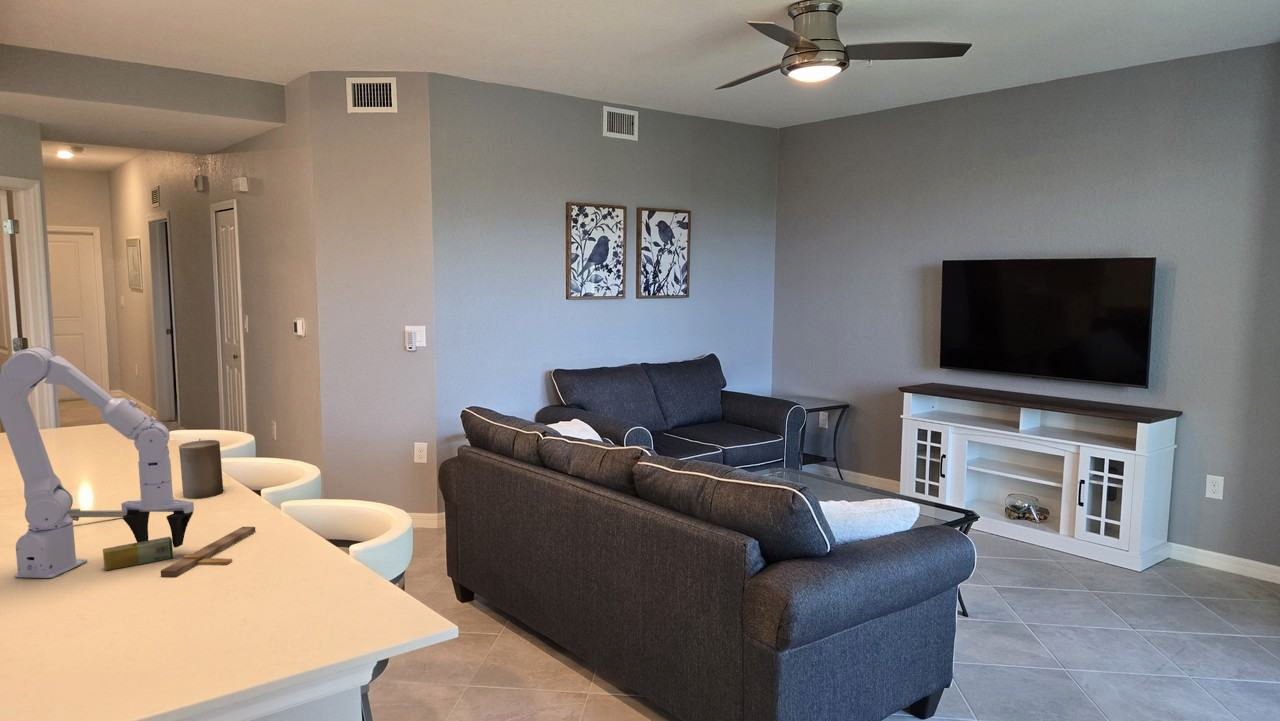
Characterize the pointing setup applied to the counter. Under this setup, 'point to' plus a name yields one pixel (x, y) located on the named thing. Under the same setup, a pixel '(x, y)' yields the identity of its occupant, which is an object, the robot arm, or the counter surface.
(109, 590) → the counter surface
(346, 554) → the counter surface
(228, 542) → the brown wooden cross
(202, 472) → the pillar candle
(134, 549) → the medication box
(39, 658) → the counter surface
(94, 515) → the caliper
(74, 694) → the counter surface
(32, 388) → the robot arm
